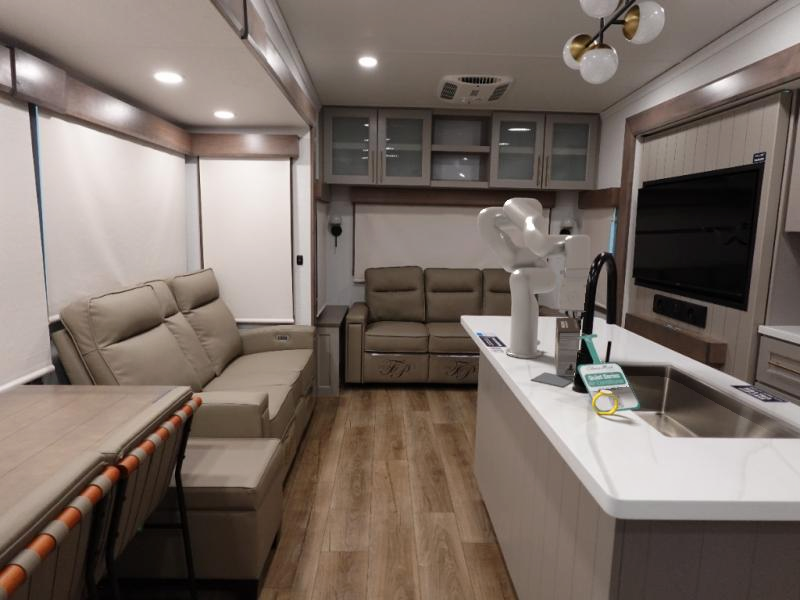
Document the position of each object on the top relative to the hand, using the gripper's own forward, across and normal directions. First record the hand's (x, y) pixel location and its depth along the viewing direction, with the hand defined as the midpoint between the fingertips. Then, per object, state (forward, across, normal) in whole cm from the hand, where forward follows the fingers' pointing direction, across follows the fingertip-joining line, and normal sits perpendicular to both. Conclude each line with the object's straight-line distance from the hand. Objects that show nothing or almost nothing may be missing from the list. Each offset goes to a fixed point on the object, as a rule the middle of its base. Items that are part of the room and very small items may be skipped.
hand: (575, 332), depth 157 cm
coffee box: (+12, -2, -3) cm, 12 cm away
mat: (+13, -2, -12) cm, 18 cm away
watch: (+15, +18, -30) cm, 39 cm away
